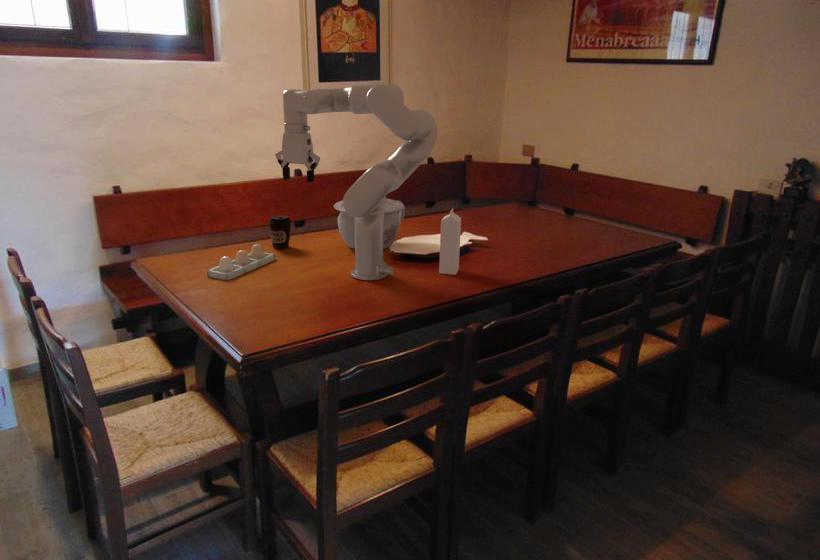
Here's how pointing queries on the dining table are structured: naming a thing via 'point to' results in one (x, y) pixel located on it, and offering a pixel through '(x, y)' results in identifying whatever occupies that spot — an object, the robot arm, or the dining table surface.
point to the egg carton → (240, 267)
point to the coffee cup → (280, 231)
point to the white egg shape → (226, 265)
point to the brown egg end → (256, 252)
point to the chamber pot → (390, 222)
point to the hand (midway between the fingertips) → (298, 180)
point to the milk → (450, 244)
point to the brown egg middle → (242, 258)
